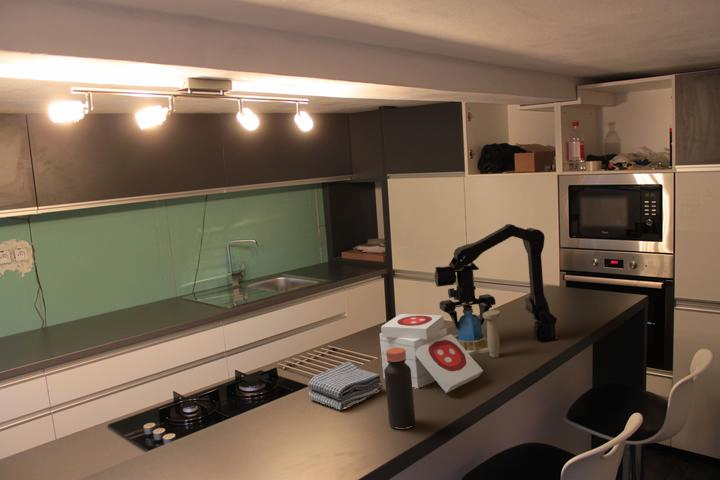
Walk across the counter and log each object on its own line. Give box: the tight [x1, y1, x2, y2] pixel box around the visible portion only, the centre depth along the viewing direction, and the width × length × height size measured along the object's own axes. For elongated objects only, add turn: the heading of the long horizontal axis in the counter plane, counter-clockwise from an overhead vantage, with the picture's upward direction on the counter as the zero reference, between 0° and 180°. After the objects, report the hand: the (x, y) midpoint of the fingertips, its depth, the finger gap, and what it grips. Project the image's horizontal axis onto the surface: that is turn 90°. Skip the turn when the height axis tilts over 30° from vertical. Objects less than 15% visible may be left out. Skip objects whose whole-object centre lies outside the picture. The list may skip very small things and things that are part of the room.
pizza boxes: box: [379, 313, 484, 394], centre depth 185 cm, size 19×30×18 cm, turn 42°
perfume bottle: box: [456, 305, 483, 341], centre depth 211 cm, size 6×6×12 cm
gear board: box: [453, 333, 489, 356], centre depth 212 cm, size 14×14×4 cm
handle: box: [483, 309, 501, 359], centre depth 200 cm, size 5×6×15 cm
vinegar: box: [384, 348, 416, 428], centre depth 156 cm, size 7×7×20 cm
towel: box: [307, 360, 383, 411], centre depth 179 cm, size 15×18×8 cm
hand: (469, 326), depth 211 cm, fingers closed on perfume bottle, 9 cm apart
